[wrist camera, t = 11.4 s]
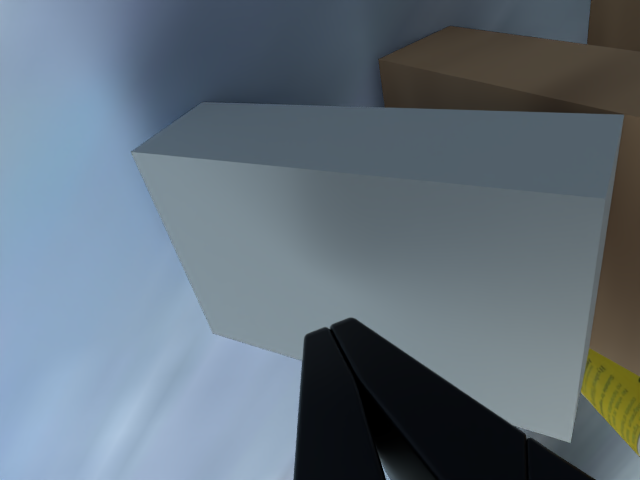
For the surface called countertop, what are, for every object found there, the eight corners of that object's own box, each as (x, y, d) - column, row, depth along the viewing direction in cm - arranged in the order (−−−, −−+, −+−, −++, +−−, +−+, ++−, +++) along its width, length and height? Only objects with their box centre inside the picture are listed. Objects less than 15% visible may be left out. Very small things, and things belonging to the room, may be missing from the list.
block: (261, 275, 14) (589, 348, 11) (212, 333, 13) (570, 443, 9) (202, 101, 12) (624, 114, 8) (130, 151, 10) (605, 198, 6)
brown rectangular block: (458, 205, 15) (803, 359, 9) (402, 241, 14) (742, 434, 9) (449, 25, 12) (940, 92, 7) (378, 59, 11) (867, 168, 6)
